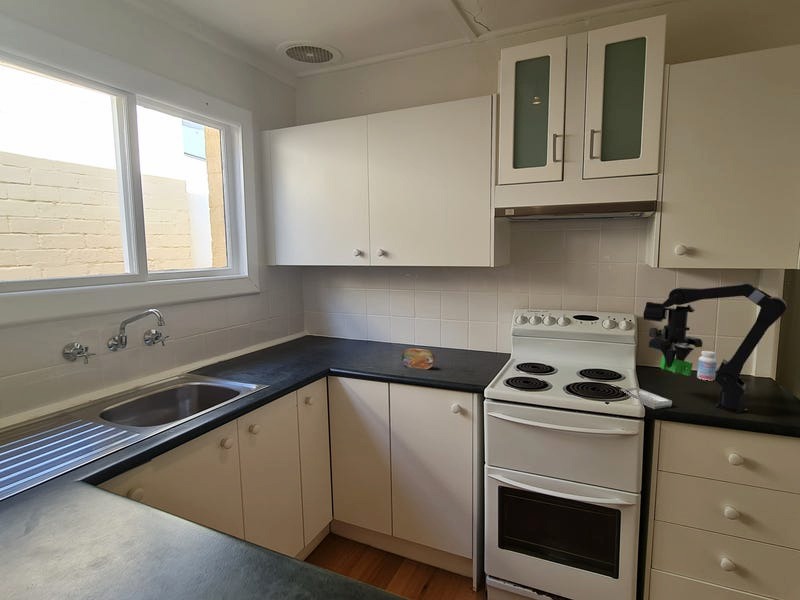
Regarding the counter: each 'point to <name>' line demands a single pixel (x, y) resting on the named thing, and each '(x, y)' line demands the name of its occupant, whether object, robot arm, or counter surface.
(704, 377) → the pill bottle
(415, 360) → the tin
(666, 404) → the grey rectangular tray
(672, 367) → the pipe clamp
